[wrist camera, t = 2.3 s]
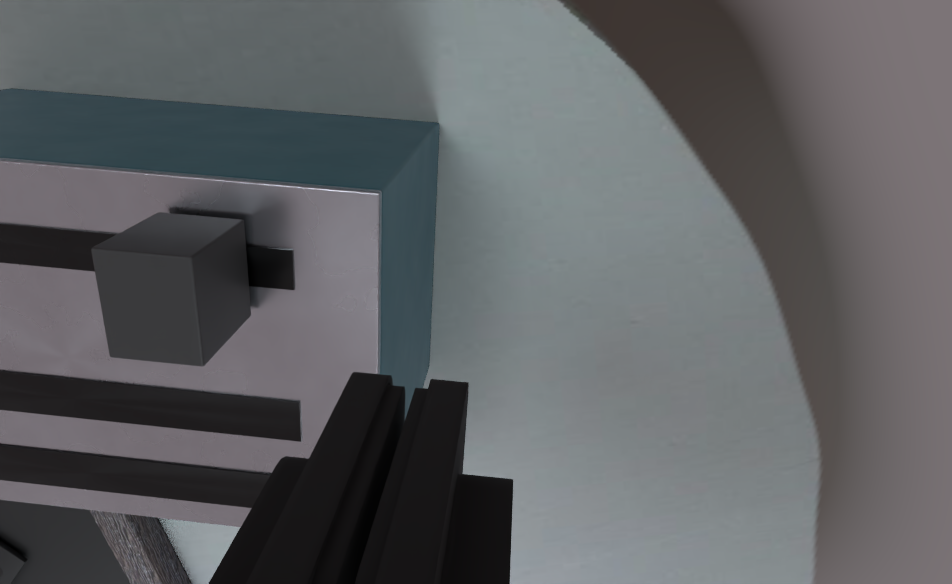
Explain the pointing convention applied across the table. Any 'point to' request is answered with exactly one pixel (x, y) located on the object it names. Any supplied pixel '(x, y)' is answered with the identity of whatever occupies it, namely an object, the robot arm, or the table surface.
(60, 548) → the picture frame
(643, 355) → the table surface
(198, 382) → the toaster
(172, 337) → the block
